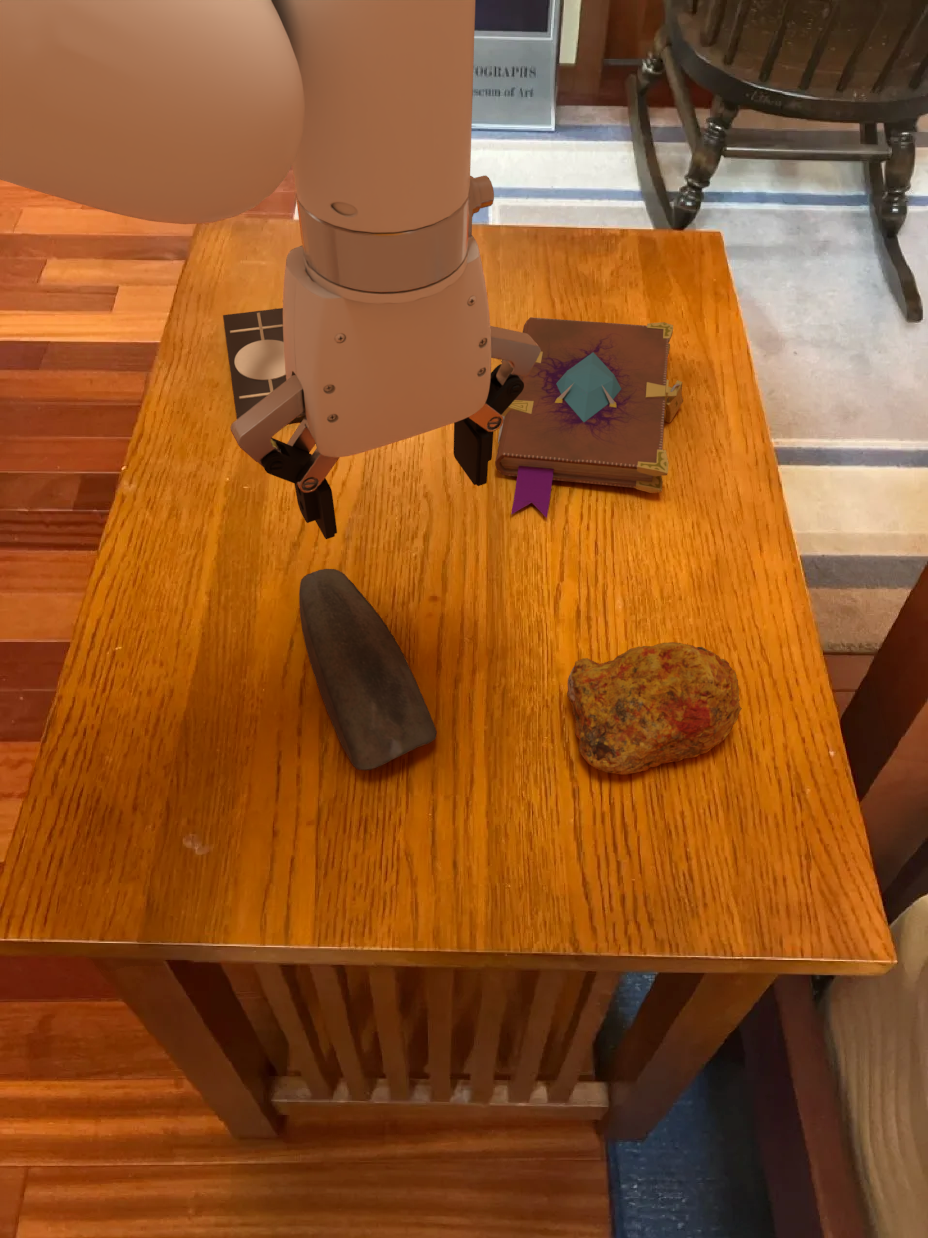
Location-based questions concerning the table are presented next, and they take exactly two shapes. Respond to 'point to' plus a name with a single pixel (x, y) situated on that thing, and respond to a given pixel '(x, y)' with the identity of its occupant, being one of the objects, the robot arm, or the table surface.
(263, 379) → the board
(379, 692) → the decorative stone
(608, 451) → the book
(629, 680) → the rock
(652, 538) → the table surface
